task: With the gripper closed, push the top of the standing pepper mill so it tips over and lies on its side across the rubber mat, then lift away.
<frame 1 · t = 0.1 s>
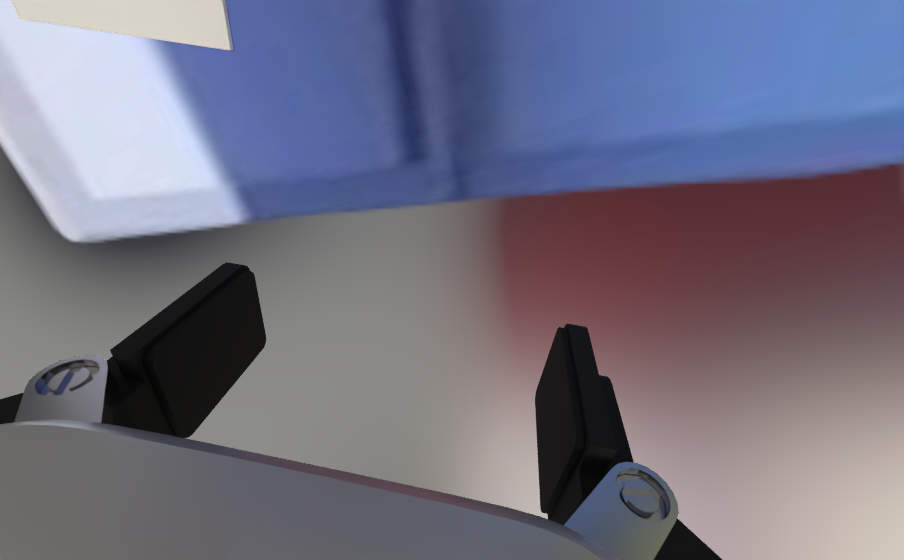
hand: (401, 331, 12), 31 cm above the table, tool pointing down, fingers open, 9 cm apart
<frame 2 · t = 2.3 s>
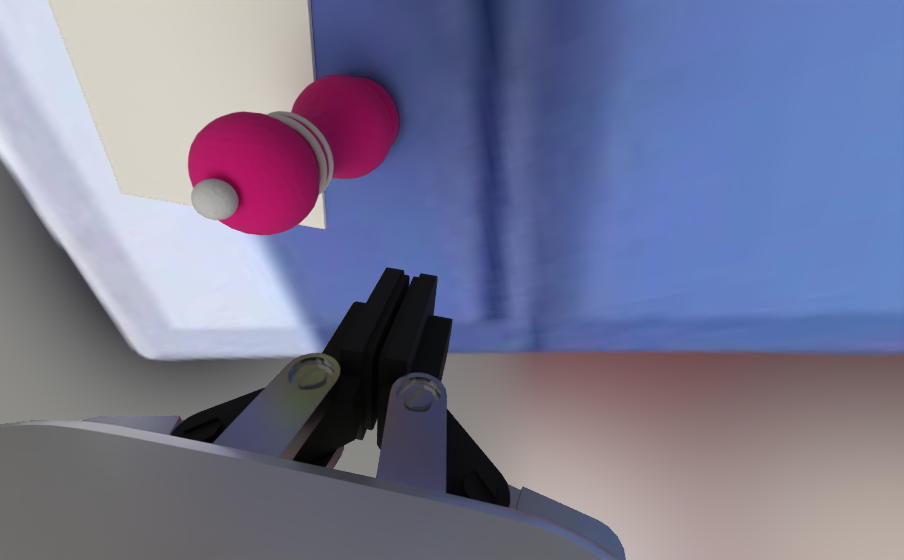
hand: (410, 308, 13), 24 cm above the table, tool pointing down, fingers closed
rubber mat: (197, 92, 34), on the table
pepper mill: (364, 117, 33), on the table
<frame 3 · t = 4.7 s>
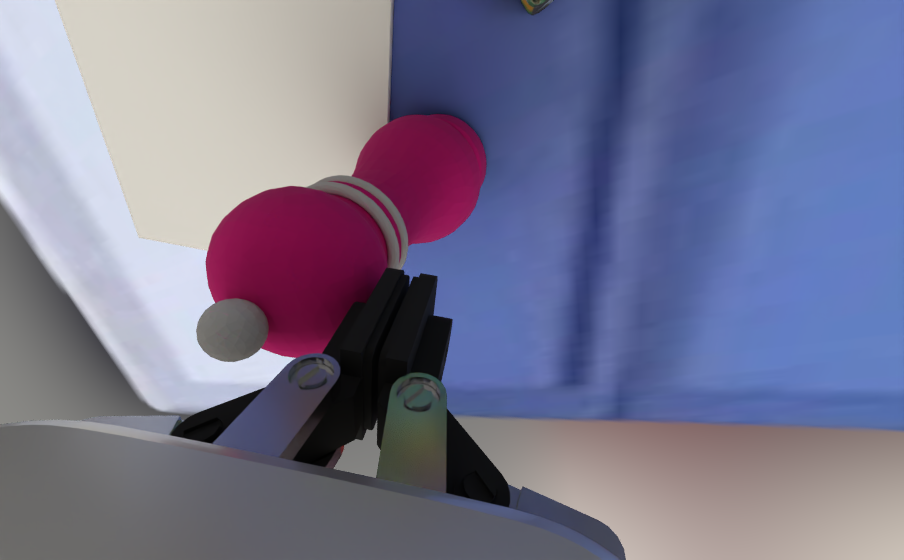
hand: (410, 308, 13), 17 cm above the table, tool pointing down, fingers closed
rubber mat: (239, 125, 28), on the table
pepper mill: (443, 161, 27), on the table, touching gripper
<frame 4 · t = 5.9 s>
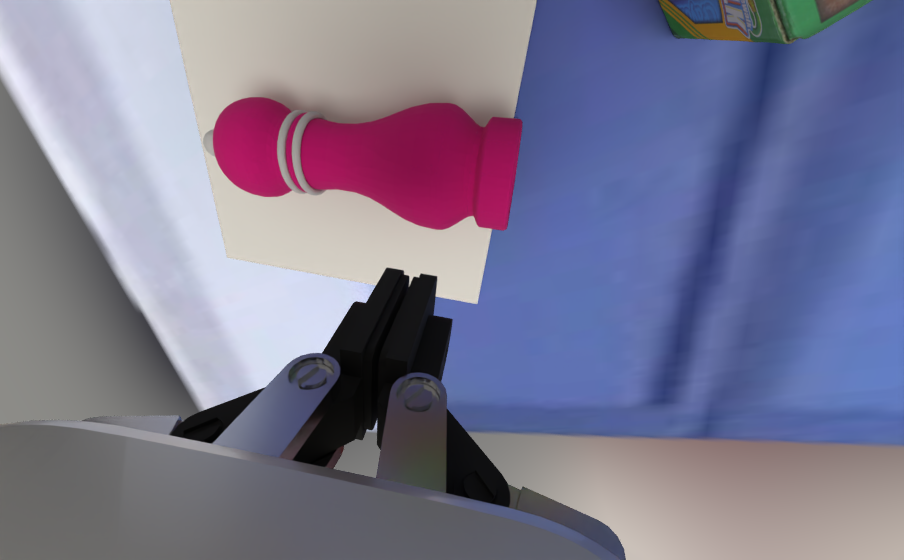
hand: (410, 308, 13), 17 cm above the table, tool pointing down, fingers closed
rubber mat: (349, 147, 27), on the table
pepper mill: (518, 177, 22), point 4 cm above the table, touching rubber mat
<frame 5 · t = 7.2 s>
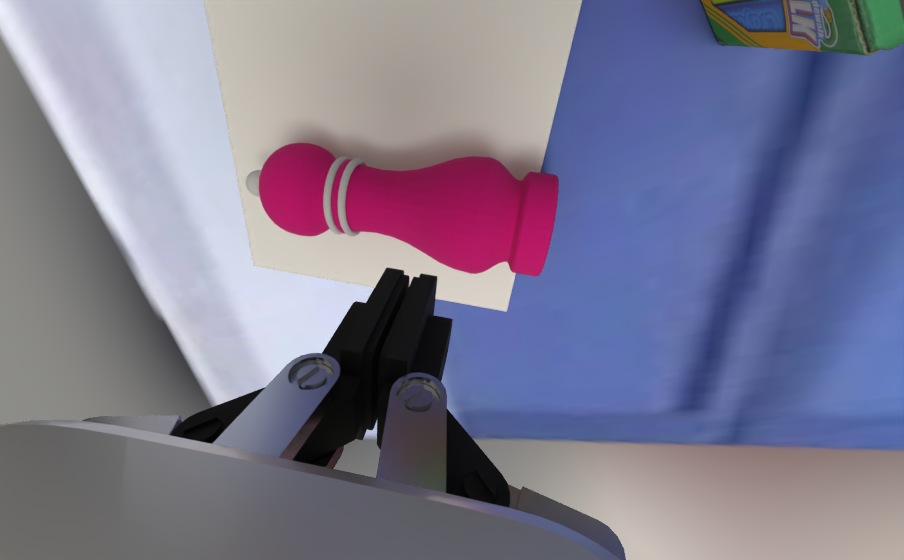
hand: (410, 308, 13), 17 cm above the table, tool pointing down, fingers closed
rubber mat: (381, 155, 27), on the table
pepper mill: (550, 227, 24), point 4 cm above the table, touching rubber mat
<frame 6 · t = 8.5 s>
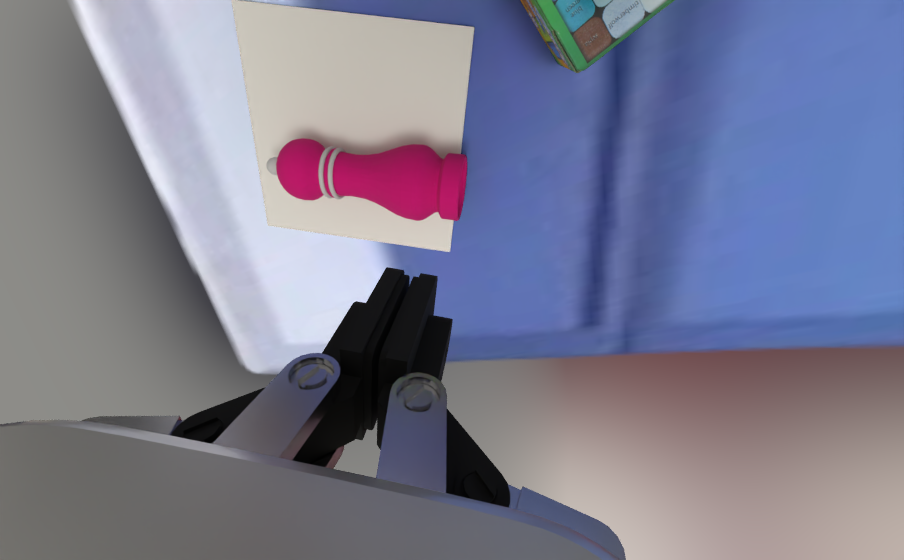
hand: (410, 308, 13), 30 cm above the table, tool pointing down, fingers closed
rubber mat: (356, 141, 40), on the table
pepper mill: (464, 188, 37), point 4 cm above the table, touching rubber mat
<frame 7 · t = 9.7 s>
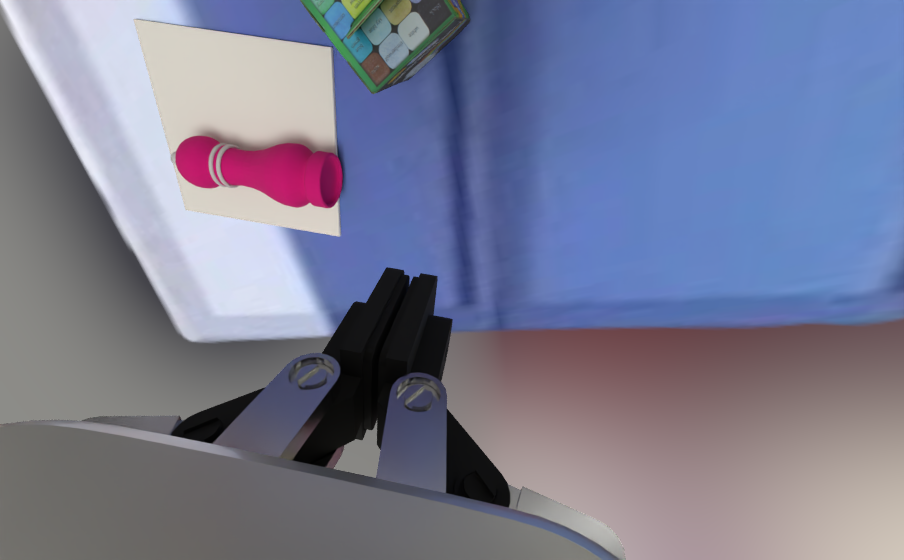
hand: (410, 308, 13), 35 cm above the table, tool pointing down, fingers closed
rubber mat: (250, 139, 47), on the table
pepper mill: (333, 181, 44), point 4 cm above the table, touching rubber mat
chalk box: (409, 11, 38), on the table
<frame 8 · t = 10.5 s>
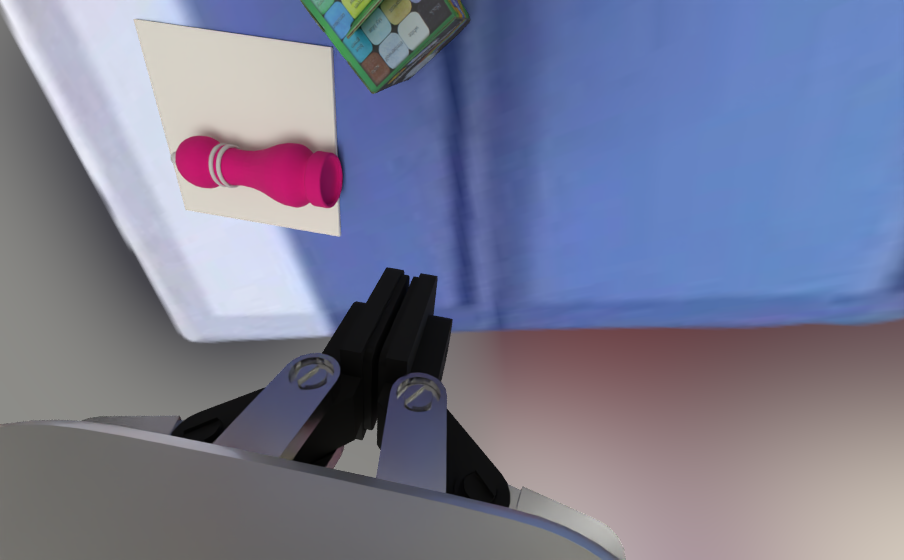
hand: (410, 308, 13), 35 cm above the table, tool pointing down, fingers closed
rubber mat: (250, 139, 47), on the table
pepper mill: (333, 181, 44), point 4 cm above the table, touching rubber mat
chalk box: (409, 11, 38), on the table
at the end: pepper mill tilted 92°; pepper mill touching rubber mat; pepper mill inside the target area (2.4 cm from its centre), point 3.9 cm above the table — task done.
